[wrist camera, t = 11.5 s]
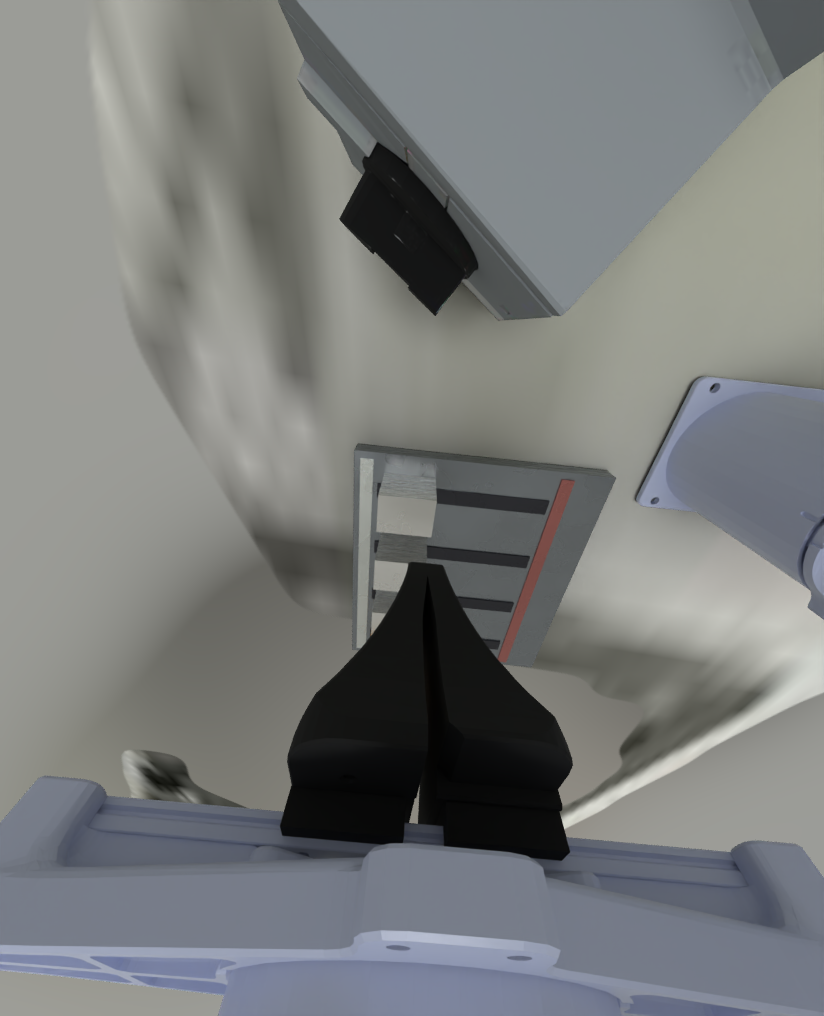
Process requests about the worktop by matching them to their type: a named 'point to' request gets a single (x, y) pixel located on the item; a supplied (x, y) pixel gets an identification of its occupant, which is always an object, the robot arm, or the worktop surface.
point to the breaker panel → (472, 537)
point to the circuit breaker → (532, 126)
